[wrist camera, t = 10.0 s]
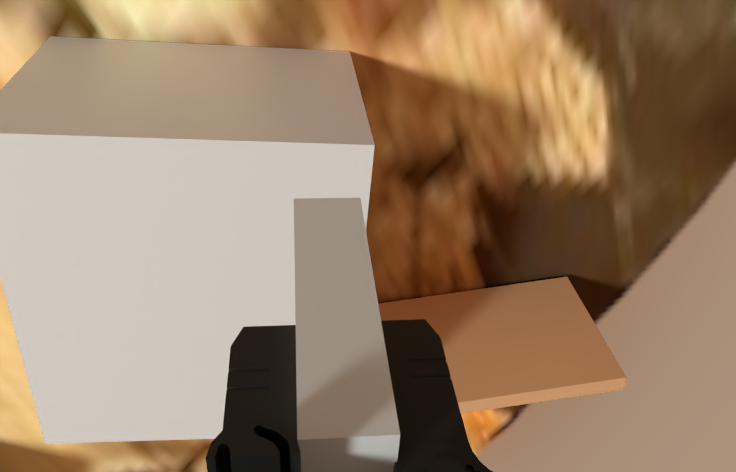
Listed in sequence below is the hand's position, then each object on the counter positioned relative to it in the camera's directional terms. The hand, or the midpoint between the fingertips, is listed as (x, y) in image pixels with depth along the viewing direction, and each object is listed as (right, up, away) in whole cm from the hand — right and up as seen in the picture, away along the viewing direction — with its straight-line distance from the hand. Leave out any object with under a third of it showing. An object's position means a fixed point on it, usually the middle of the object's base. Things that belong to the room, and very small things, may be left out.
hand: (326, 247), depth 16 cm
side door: (+7, -5, +33) cm, 34 cm away
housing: (-9, +3, +26) cm, 28 cm away
